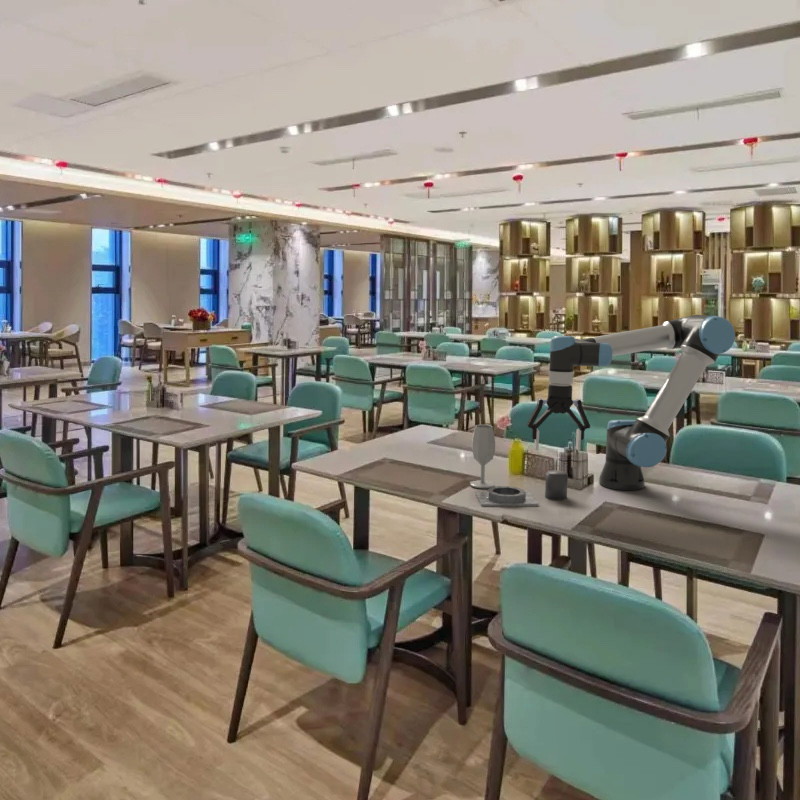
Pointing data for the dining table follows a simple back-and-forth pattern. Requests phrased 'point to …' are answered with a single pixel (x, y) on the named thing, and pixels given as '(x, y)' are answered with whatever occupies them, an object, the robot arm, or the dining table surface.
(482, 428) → the wineglass
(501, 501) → the gray tray with ring
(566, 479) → the dark grey cylinder
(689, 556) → the dining table surface
